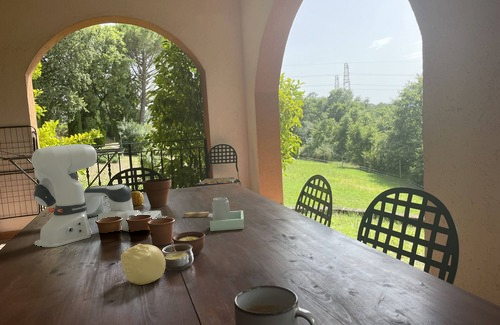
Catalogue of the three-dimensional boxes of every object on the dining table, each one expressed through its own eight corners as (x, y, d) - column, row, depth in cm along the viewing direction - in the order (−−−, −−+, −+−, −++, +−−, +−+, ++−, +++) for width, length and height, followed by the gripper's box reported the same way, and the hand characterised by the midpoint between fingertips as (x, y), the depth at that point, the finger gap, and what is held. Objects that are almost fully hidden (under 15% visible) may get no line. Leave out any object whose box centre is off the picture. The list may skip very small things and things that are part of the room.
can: (229, 227, 166) (227, 199, 165) (212, 228, 167) (209, 200, 166) (231, 222, 174) (229, 196, 172) (215, 223, 174) (213, 196, 173)
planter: (109, 212, 213) (107, 192, 212) (98, 217, 201) (95, 196, 200) (87, 212, 214) (85, 193, 213) (75, 218, 202) (72, 197, 201)
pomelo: (117, 282, 114) (113, 246, 113) (153, 269, 123) (150, 235, 121) (136, 292, 106) (132, 253, 105) (174, 278, 114) (170, 242, 113)
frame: (210, 230, 162) (209, 221, 162) (212, 221, 178) (212, 212, 178) (244, 228, 163) (243, 219, 162) (243, 219, 179) (243, 210, 178)
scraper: (182, 219, 187) (182, 214, 187) (186, 215, 194) (186, 211, 194) (213, 217, 186) (213, 213, 185) (216, 214, 192) (216, 210, 192)
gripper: (142, 221, 180) (172, 220, 180) (128, 234, 160) (162, 233, 160) (141, 208, 179) (171, 206, 179) (127, 219, 159) (161, 217, 159)
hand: (167, 219), depth 169 cm, fingers closed
